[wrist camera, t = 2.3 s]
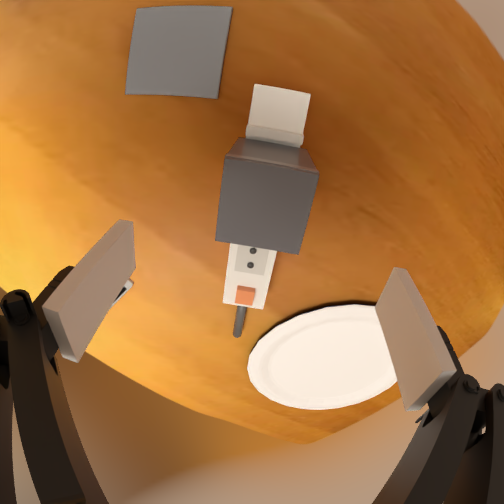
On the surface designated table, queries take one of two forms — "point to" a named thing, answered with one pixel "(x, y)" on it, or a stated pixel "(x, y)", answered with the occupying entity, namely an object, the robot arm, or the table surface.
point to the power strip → (251, 258)
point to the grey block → (266, 195)
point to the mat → (178, 50)
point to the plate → (323, 359)
